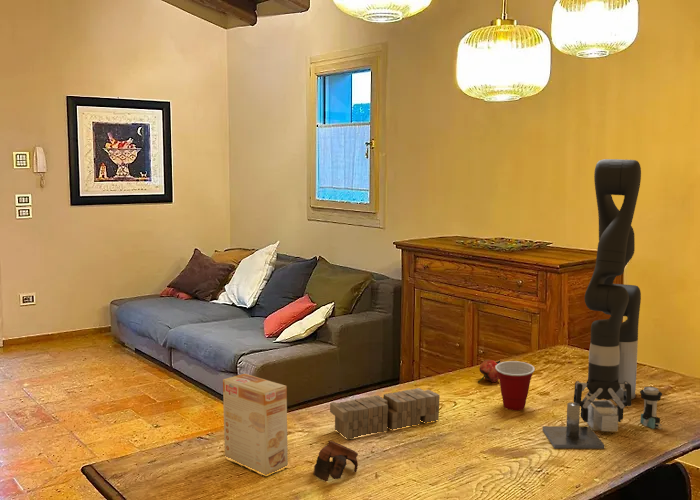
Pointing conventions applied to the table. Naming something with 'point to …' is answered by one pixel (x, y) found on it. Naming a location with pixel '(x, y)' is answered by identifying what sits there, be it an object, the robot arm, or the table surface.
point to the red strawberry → (489, 370)
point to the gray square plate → (572, 432)
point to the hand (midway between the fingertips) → (601, 421)
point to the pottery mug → (334, 461)
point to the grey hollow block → (602, 415)
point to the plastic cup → (514, 383)
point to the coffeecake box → (255, 422)
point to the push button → (650, 407)
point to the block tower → (385, 412)
